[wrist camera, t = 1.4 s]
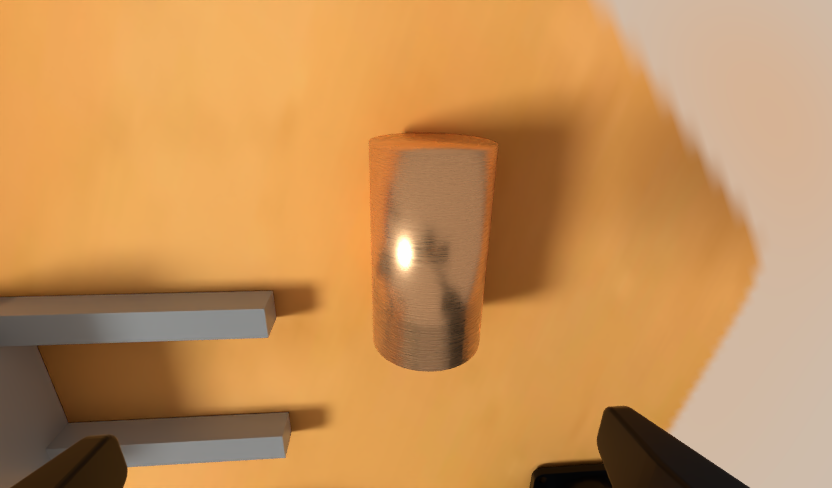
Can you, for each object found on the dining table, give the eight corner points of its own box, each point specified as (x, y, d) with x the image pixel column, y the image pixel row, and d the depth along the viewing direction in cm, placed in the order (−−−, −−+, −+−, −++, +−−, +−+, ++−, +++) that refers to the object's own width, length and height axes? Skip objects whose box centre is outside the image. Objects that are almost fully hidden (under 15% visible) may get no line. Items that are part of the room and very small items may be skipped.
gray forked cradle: (272, 290, 18) (231, 378, 13) (291, 432, 21) (263, 548, 16) (-63, 298, 17) (-258, 399, 12) (11, 447, 20) (-116, 578, 15)
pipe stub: (341, 143, 13) (464, 159, 11) (412, 129, 17) (516, 140, 15) (351, 345, 16) (449, 387, 14) (409, 298, 20) (494, 327, 18)
